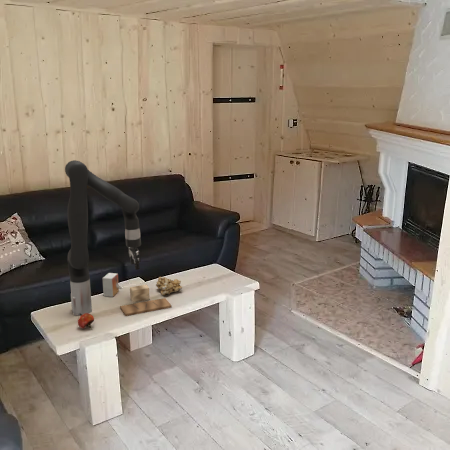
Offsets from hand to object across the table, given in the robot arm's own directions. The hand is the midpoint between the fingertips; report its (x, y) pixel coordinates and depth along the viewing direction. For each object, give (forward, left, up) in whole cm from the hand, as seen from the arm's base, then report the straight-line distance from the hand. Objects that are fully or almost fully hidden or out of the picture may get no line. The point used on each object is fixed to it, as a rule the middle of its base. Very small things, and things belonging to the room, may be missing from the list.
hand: (135, 266), depth 250 cm
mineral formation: (+19, +5, -19) cm, 28 cm away
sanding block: (+2, 0, -19) cm, 19 cm away
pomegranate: (-29, -20, -19) cm, 40 cm away
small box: (-10, +14, -19) cm, 26 cm away
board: (+2, -11, -19) cm, 22 cm away
